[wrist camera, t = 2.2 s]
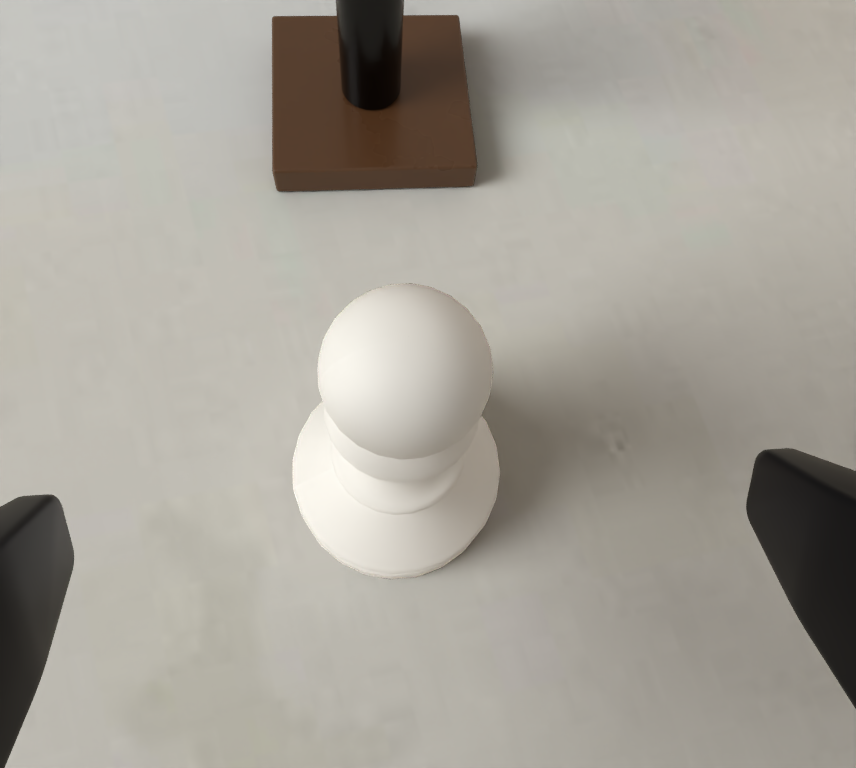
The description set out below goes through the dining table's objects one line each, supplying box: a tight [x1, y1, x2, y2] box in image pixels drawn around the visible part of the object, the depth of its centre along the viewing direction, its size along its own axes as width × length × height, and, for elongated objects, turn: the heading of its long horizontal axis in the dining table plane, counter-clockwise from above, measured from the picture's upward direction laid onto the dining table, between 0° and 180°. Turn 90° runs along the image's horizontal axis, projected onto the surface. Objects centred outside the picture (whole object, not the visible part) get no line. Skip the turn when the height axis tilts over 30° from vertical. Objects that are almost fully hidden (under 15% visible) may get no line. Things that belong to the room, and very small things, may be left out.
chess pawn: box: [292, 283, 500, 579], centre depth 15 cm, size 5×5×9 cm
